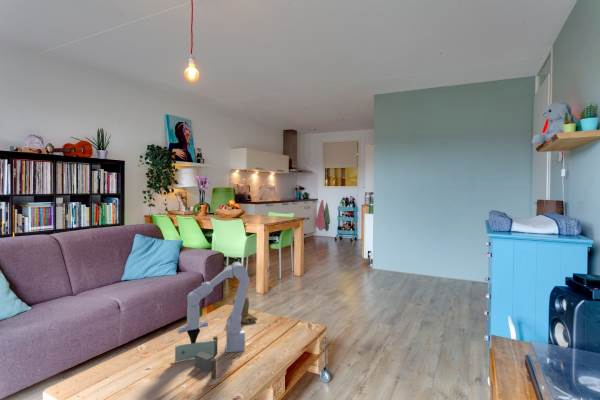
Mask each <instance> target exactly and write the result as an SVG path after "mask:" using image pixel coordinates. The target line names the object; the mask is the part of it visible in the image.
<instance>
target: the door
mask: <svg viewBox="0 0 600 400" xmlns="http://www.w3.org/2000/svg"><path fill="white" fill-rule="evenodd" d="M216 343H217V344H218V341H217V340H213V339H212V340H204V341H200V342H197V341H196V343H191V342H190V343H186V344H179V345H175V346H174V362H180V361H181V362H182V361H186V360H193V359H195V354H197V353H199V352H201V351H203V352H205V353H208V354H210V355H212V356H215V355H217V354H216Z"/></svg>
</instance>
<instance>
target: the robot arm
mask: <svg viewBox="0 0 600 400" xmlns="http://www.w3.org/2000/svg"><path fill="white" fill-rule="evenodd" d="M229 278H230V279H233V278H236V279H237V280H238V281H239V284H238V287H237V291H236V294H235V297H236V298H235V297H234V298H235V302H234V304H233V306H232V311H231V312H230V314H229V316H228V317H227V319H226V323H225V324H226V325H227V329H226V332H225V333H226V340H225V342H226V344H225V353H235V352H245V349H246V348H245V347H246V337H245V336H246V335H245V334H246V332H245V330H243V329H242V325H241V324H242V323H241V314H242V310H243V306H244V302H245V298H246V296H247V295H248V294H247V293H248V290H249V287H250V283H251V279H250V277H249V274H248V271H247V269H246V268H245V267H244V265H243V263H241V262H239V261H234V262H232V263H231V264H230V265H228V266H226V268H224V269H223V270H222V271H221V272H220V273H218V274H217V275H216V276H215V277H214V278H212V279H211V280H209V281H205V282H204V281H203V282H202V283H201V285H200V286H198V287H197V288H195V289H193V290H192V291H190V292H189V293H188V294H187V297H186V301H187V302H186V303H187V307H186V309H187V310H186V325H185V326H182V327H179V328H177V333H178V335H180V334H182V333H185V332H187V334H188V337H189V339H190V344H191V343H197V338H198V336H199V334H200V333H201V329H200V328H203V327H204V328H205V327H208V326H209V322H208V321H201V322H200V302H201V300H203V299H204V298H205V297H207V296H208V295H210V294H211V293H212V292H213V290H214V288H215V287H216V286H217V285H219V284H220V283H222V282H223V281H224V280H226V279H229Z"/></svg>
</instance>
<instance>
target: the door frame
mask: <svg viewBox="0 0 600 400" xmlns="http://www.w3.org/2000/svg"><path fill="white" fill-rule="evenodd" d="M218 337H219V336H213V339H212V340H217V343H216V355H218V339H219V338H218ZM216 379H217V358H216V357H215V358H214V359H211V371H210V380H216Z"/></svg>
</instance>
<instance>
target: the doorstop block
mask: <svg viewBox="0 0 600 400" xmlns="http://www.w3.org/2000/svg"><path fill="white" fill-rule="evenodd" d="M214 356H215V355H210V354H208V353H205V352H203V351H201V352H199V353H197V354H195V358H194V368H195V369H197V368H198V369H197V370H199V369H200V371H202V372H205V373H209V372H211V359H215V358H214Z"/></svg>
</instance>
